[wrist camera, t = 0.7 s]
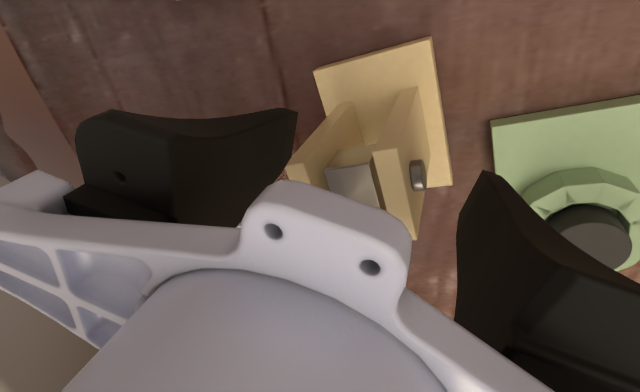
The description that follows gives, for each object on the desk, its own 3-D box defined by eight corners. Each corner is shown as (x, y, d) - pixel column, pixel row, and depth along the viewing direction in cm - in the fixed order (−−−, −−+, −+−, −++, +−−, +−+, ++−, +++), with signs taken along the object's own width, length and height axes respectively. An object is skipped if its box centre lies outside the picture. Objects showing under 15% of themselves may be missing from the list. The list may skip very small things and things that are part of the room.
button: (618, 254, 20) (630, 275, 19) (544, 256, 22) (549, 276, 20) (623, 201, 19) (636, 220, 17) (542, 206, 20) (548, 224, 19)
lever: (446, 325, 21) (445, 360, 19) (366, 320, 23) (357, 352, 21) (410, 137, 16) (403, 158, 14) (312, 153, 18) (294, 173, 16)
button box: (646, 247, 22) (668, 281, 20) (502, 251, 25) (506, 281, 23) (666, 89, 18) (698, 108, 15) (489, 120, 21) (493, 139, 19)
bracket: (453, 176, 24) (449, 280, 16) (354, 187, 27) (310, 279, 19) (431, 35, 20) (412, 81, 12) (318, 67, 23) (244, 120, 15)
